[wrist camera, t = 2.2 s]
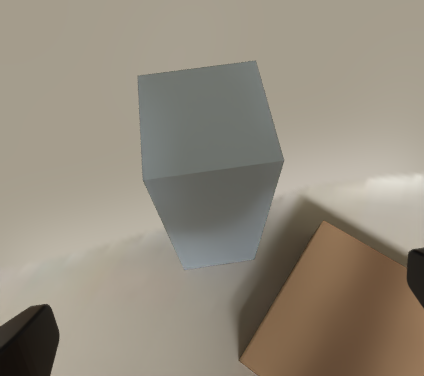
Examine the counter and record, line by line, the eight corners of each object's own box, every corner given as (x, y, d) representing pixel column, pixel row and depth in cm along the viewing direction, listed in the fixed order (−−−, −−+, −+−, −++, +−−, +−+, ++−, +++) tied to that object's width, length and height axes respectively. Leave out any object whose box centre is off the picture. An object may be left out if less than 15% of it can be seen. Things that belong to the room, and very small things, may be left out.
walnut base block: (449, 318, 20) (484, 312, 17) (391, 478, 16) (423, 501, 14) (311, 236, 22) (323, 220, 20) (238, 360, 19) (240, 361, 16)
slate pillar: (254, 259, 21) (284, 160, 11) (184, 270, 21) (142, 180, 10) (241, 196, 23) (256, 60, 13) (177, 205, 23) (137, 75, 12)
